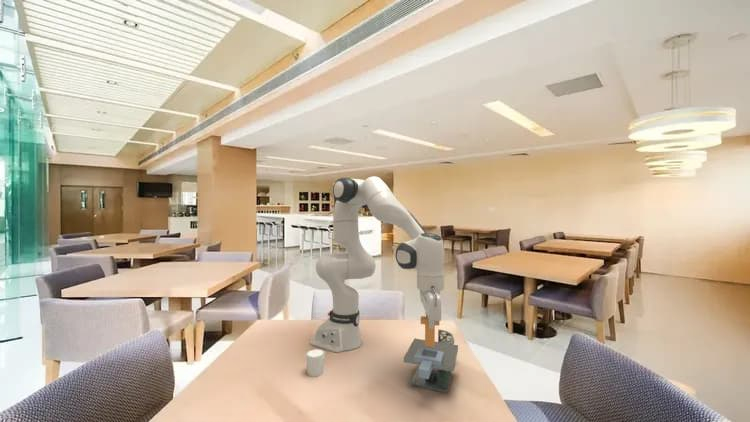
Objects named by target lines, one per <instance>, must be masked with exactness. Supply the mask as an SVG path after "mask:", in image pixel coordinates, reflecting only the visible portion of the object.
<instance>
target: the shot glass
mask: <svg viewBox="0 0 750 422" xmlns="http://www.w3.org/2000/svg"><path fill="white" fill-rule="evenodd" d="M325 356H326V351H325V349H323V348H313V349H310V350H308V351H307V352H305V358H306V359H305V360H306V371H307V375H308V376H310V377H318V376H322V375H323V373H324V370H325V369H324V367H325V358H326V357H325Z"/></svg>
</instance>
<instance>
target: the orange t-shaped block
mask: <svg viewBox="0 0 750 422" xmlns="http://www.w3.org/2000/svg"><path fill="white" fill-rule="evenodd" d="M428 319H429V318H428V317H426V316H423V315H422V316H420V325H424V340H425V346H431V347H434V344H435V342H436V341H435V338H436V335H435V334H436V329H435V328H436V326H438V327H440V321H435V323H434V329H430V328H429V327H428Z"/></svg>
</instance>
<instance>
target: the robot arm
mask: <svg viewBox="0 0 750 422" xmlns="http://www.w3.org/2000/svg"><path fill="white" fill-rule="evenodd" d="M332 193H333V198H334V199H335V202H334V203H335V204H334V208H333V218H332V222H333V223H332V228H333V229H332V233H333V234H332V235H333V236H332V237H333V241H334V242H335V243H336V244H338V245H339V246H342V247H344V248H345V249H346V250H347V252H346V253H329V254H326V255H322V256H320V257H319V258H318V259H317V261H316V264H315V271H316V274H317V276H318V277H319V278H320V279H322V280H323V281H324V282H325V283H326V284H327V286H328V287H329V289H330V292H331V296H332V309H331V310H330V311H329V312H328V313H327V317H329V318H328V319H327V320H325V321H323V323H321V324H320V325H319V326H318V327H317V329H316V332H315V335H313V336H312V337H311V339H310V342H309V344H310V345H311V346H314V347H317V348H319V349H322V350H327V351H330V352H332V353H340V352H344V351H351V350H352V351H353V350H355V349H358V348H359V347H361V345H362V344H363V342H362V341H363V340H362V338H361V332H360V319H361V318H360V310H359V305H360V303H359V302H360V301H359V297H360V295H359V292H358V291H357V290H356V289H355V288H354V287H352V286H349V285H348V284H346V282H345V281H346V280H362V279H365V278H370V277H372V276H373V275H374V274H375V271H376V261H375V258H374V257H373V256H372V255H371V254H370V253H368V252H367V251H366V250H365V249H364V247H363V245H362V243H361V239H360V232H359V211H360V209H361V208H363V209H367V208H368V210H369V212H370V213H371V215H372V216H373V217H374V218H375V219H376V220H377V221H379V222H382V223H387V224H390V225H394V226H395V227H396V226H397V227H399V228H401V229H402V230H403V231H405V233H406V234H407V236H408V237H409V238H410V239H411V240H408V241H404V242H401V243H399V244H398V246H396V247H397V248H396V249H395V252H394V253H395V255H394V257H395V261H396V263H397V265H398V267H400V268H401V269H404V270H416V288H417V289H418V290H419V296H420V302H421V304H422V306H423V309H424V311H425V313H424V314H425V317H428V318H429V319H428V327H429V328H430V329H434V323H435V321H439V322H441V320H442V298H441V296H440V294H441V292H442V291H443V290H444V289H445V272H444V264H445V244H444V240H443V238H442V236H440V235H438V234H435V233H432V232H431V233H430V232H427V231H426V230H425V229H424V227H423V226H422V225H421V224H420V223H419V221H418V220H417V218H416V217H415V216H414V215H413V214H412V213H411V211H409V210H408V209H407V208H406V207H404V205H403V204H402V203H400V201H399V200H398V199H397V198H396V196H395V195H394V193H393V192H392V190H391V189H390V188H389V186H388V184H386V183H385V181H384V180H382V179H381V178H380V177H379V176H375V175H373V176H369V177H367V178H366V179H362V178H350V177H340V178H338V179H337V180H336V181H335V183H334V184H333V188H332Z"/></svg>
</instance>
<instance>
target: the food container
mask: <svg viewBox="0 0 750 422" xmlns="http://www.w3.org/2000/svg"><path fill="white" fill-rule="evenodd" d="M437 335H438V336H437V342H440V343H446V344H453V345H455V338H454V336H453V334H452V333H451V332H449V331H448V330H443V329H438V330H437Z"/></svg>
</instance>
